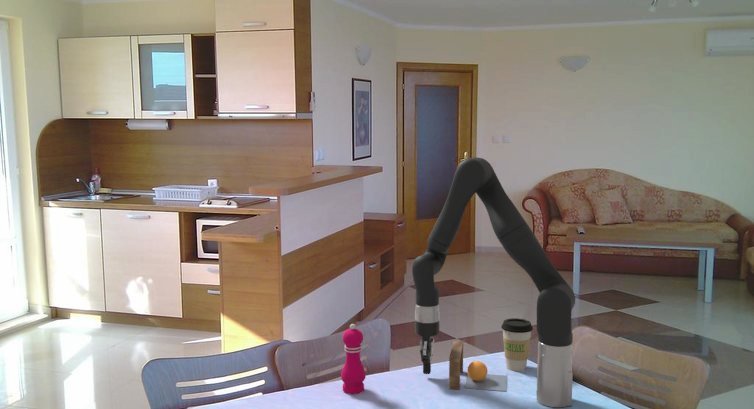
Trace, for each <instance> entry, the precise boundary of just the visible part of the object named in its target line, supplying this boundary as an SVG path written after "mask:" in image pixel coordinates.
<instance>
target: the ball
mask: <svg viewBox="0 0 754 409" xmlns="http://www.w3.org/2000/svg"><path fill="white" fill-rule="evenodd" d="M466 371H467V373H468V375H469V377H470V378H471V379H472V380H474V381H482V380H483V379H485V377H486V376H487V374H488V367H487V365H486V364H485V363H484V362H482V361H480V360H473V361H472V362H470V363H469V365H468V367H467V370H466Z"/></svg>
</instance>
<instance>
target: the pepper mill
mask: <svg viewBox="0 0 754 409" xmlns="http://www.w3.org/2000/svg"><path fill="white" fill-rule="evenodd" d="M342 342H343V344H344V352H345V355H346V356H345V362H344V364H343V367H342V369H341V373H340V379H341V380H342V382H343V384H342V392H343V393H345V394H346V395H348V394H349V395H358V394H361V393H364V390H365V384H364V381H365V379H366V378H367V377H366V370H365V368H364V366H363V363H362V360H361V351H362V350H363V349H362V346H363V345H362V343H363V342H364V335H363V332H362V331H361V330H360V329H358V328H357V325H355V324H354V323H351V324H350V325H349V328H348V329H346V330H345V331H344V332H343V334H342Z"/></svg>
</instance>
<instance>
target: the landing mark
mask: <svg viewBox="0 0 754 409" xmlns="http://www.w3.org/2000/svg"><path fill="white" fill-rule="evenodd" d="M464 384H465V385H464V389H467V390H481V391H494V392H495V391H496V392H507V375H503V374H488V373H487V376H486V377H485V379H483V380H482V381H474V380H472V379H471V378H470V377H469V375H468V372H467V374H466V379H465V383H464Z"/></svg>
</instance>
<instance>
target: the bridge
mask: <svg viewBox="0 0 754 409" xmlns="http://www.w3.org/2000/svg"><path fill="white" fill-rule="evenodd" d="M448 358H449V360H448V362H449V364H448V366H449V367H448V372H449V373H448V375H449V376H448V390H453V391H454V390H455V391H460V388H461V374H460V373H464V341H458V340H453V344H452V346H451V350H450V354H449V357H448Z"/></svg>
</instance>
